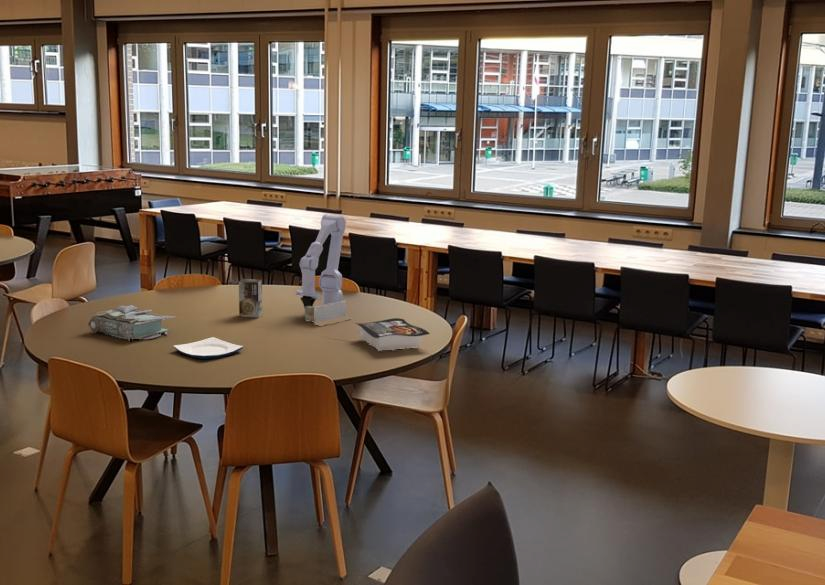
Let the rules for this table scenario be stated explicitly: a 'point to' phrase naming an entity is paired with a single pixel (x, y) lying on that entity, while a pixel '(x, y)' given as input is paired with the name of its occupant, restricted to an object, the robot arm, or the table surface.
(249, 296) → the coffee box
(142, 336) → the ornate clasped book
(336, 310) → the metal bookend
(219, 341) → the plate
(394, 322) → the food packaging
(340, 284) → the robot arm
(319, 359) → the table surface
